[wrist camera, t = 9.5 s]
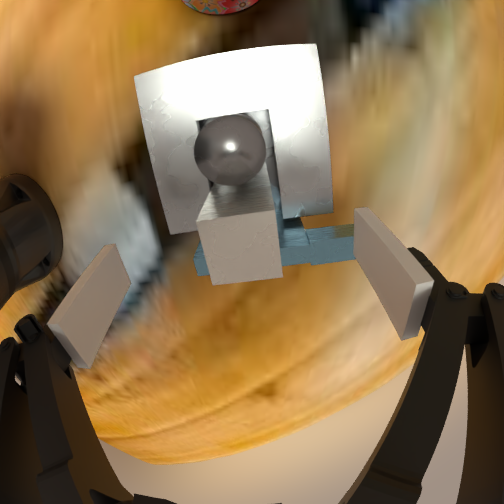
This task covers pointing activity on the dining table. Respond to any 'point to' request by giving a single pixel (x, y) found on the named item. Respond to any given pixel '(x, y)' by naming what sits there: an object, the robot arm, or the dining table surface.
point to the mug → (219, 5)
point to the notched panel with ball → (245, 142)
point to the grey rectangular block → (240, 232)
